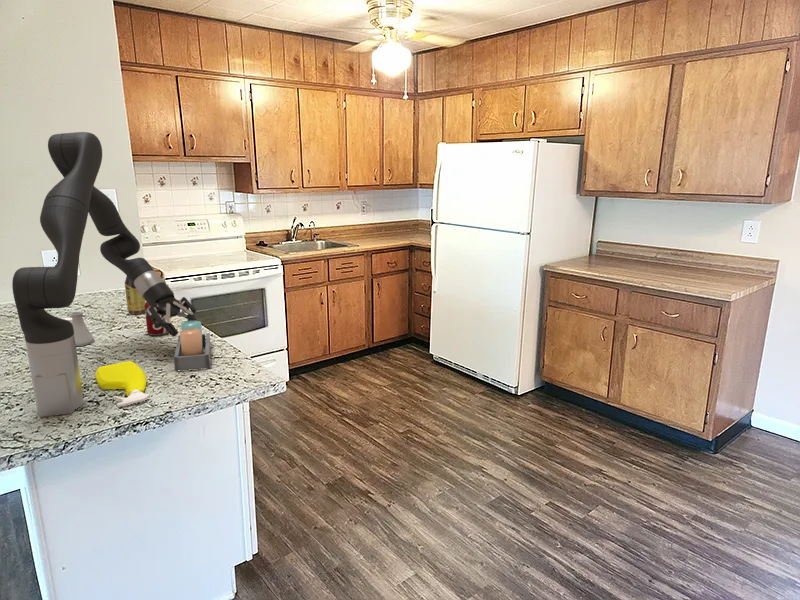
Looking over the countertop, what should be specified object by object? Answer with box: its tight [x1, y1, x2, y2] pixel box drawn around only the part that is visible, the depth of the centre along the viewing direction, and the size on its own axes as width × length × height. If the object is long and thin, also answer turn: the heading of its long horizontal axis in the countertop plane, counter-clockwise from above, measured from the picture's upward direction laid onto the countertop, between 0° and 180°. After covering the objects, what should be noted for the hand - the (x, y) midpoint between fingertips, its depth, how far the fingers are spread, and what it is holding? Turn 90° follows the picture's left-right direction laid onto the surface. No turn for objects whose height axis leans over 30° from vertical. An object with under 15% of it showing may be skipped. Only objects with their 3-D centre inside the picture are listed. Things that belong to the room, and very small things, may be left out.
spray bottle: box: [94, 360, 151, 408], centre depth 132 cm, size 3×11×25 cm
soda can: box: [144, 301, 169, 337], centre depth 172 cm, size 7×7×12 cm
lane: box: [173, 332, 212, 372], centre depth 153 cm, size 20×9×4 cm, turn 19°
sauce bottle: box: [124, 275, 146, 315], centre depth 193 cm, size 6×6×20 cm
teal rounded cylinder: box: [180, 320, 205, 354], centre depth 154 cm, size 6×6×10 cm
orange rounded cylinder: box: [179, 328, 204, 356], centre depth 147 cm, size 6×6×10 cm
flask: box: [69, 311, 96, 347], centre depth 162 cm, size 7×7×10 cm
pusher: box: [202, 333, 206, 348], centre depth 162 cm, size 5×6×4 cm
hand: (186, 330), depth 154 cm, fingers open, 8 cm apart
